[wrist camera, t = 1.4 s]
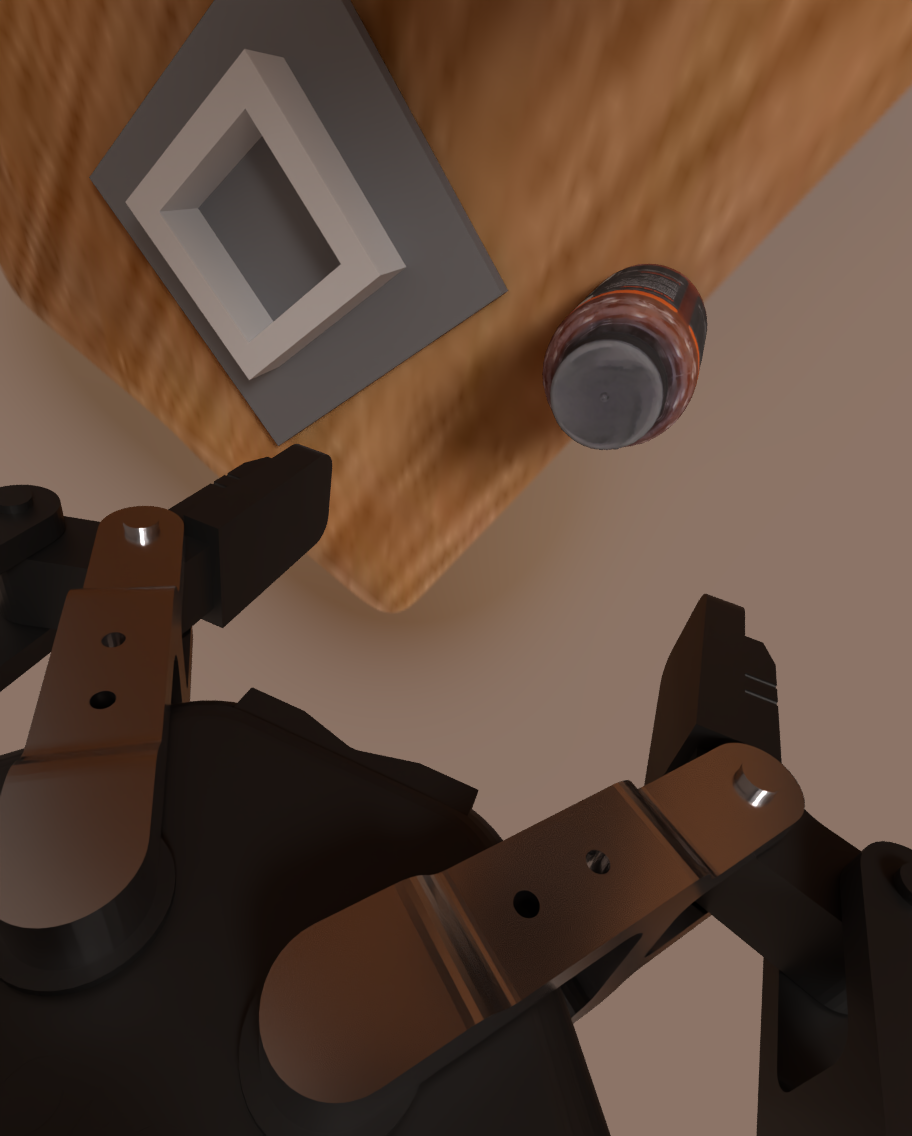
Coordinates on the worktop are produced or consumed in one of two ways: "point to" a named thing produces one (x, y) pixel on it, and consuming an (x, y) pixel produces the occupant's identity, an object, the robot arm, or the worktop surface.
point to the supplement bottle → (627, 358)
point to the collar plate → (295, 207)
